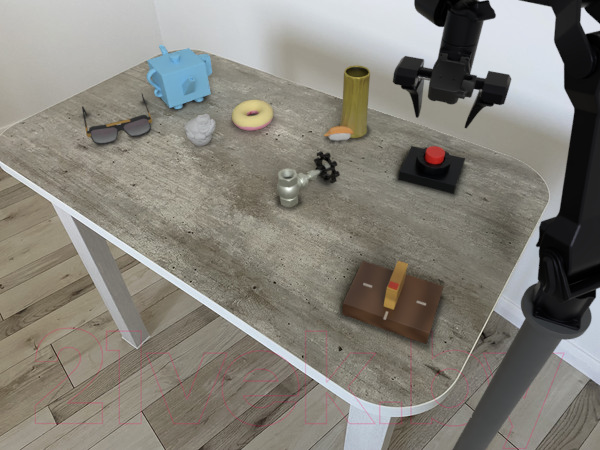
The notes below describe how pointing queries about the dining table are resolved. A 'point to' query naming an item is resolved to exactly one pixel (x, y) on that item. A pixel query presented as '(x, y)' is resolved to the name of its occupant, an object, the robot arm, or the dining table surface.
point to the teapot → (180, 76)
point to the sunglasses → (119, 128)
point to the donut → (252, 122)
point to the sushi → (339, 133)
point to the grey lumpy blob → (200, 129)
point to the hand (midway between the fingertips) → (441, 121)
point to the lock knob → (395, 285)
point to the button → (434, 155)
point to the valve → (304, 179)
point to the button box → (431, 170)
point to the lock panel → (409, 308)
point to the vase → (355, 99)
